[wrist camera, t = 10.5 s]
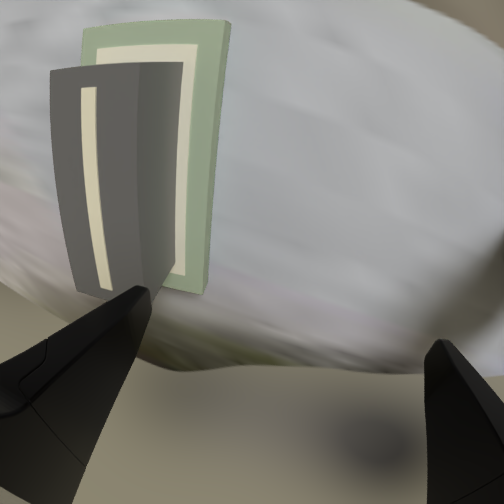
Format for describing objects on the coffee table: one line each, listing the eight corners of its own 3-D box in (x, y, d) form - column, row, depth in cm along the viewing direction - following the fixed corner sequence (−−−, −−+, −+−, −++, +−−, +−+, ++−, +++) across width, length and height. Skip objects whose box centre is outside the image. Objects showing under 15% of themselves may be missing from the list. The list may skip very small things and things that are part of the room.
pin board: (231, 23, 14) (209, 10, 11) (207, 282, 24) (190, 323, 21) (96, 29, 15) (52, 28, 11) (105, 259, 25) (77, 292, 21)
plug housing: (183, 61, 15) (138, 62, 10) (175, 262, 22) (146, 312, 17) (105, 63, 15) (48, 71, 11) (112, 249, 22) (76, 292, 18)
